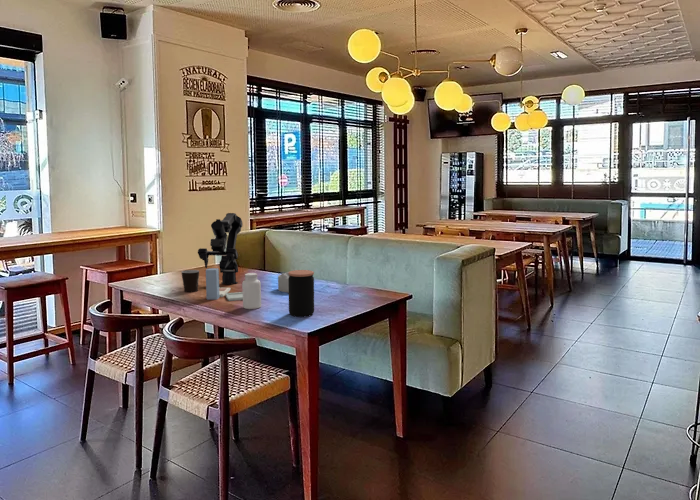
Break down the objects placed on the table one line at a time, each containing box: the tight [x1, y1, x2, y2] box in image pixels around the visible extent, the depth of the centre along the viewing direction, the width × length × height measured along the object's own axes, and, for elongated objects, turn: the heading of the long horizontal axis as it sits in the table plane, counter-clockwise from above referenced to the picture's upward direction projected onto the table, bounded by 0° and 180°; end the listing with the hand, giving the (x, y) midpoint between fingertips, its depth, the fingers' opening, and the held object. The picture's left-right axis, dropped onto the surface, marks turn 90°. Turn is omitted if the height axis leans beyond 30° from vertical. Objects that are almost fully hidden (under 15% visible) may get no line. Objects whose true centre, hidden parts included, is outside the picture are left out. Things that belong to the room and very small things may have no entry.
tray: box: [224, 291, 243, 302], centre depth 265 cm, size 12×12×1 cm
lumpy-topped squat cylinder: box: [277, 271, 290, 294], centre depth 282 cm, size 10×13×9 cm
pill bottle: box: [241, 272, 262, 310], centre depth 245 cm, size 8×8×15 cm
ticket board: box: [205, 287, 231, 298], centre depth 274 cm, size 16×8×1 cm, turn 0°
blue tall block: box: [205, 267, 221, 300], centre depth 262 cm, size 5×5×14 cm
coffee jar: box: [287, 269, 315, 318], centre depth 234 cm, size 11×11×18 cm
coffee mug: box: [181, 269, 200, 293], centre depth 280 cm, size 12×9×10 cm
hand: (215, 268), depth 269 cm, fingers open, 9 cm apart
